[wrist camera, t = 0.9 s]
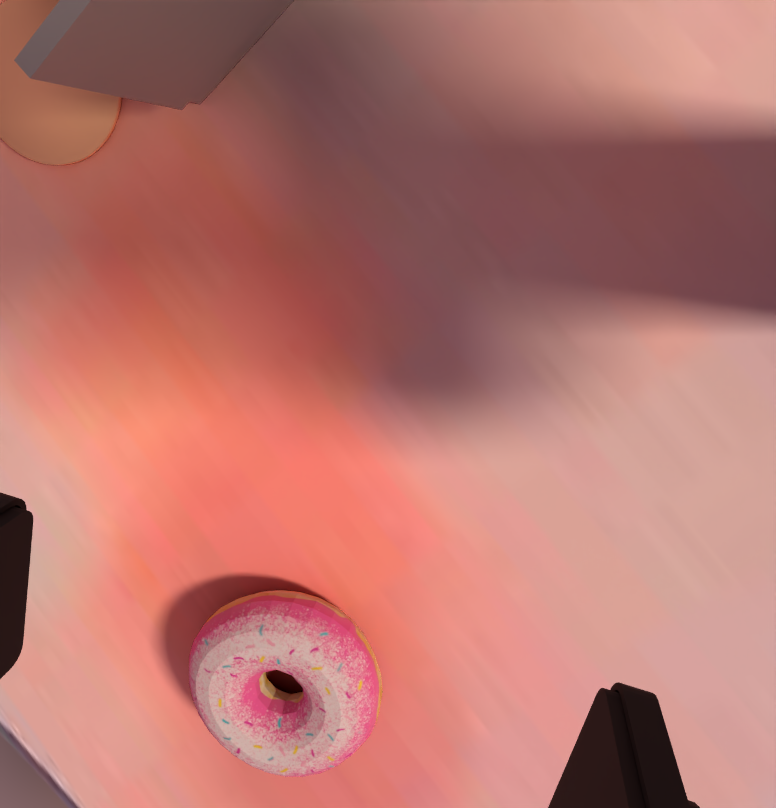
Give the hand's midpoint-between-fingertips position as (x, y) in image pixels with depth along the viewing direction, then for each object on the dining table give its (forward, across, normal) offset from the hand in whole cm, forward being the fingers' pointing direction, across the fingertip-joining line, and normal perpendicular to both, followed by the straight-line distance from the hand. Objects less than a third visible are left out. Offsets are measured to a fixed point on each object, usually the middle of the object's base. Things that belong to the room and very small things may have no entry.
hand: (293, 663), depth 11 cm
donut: (+32, +4, +27) cm, 42 cm away
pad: (+32, +26, -7) cm, 41 cm away
